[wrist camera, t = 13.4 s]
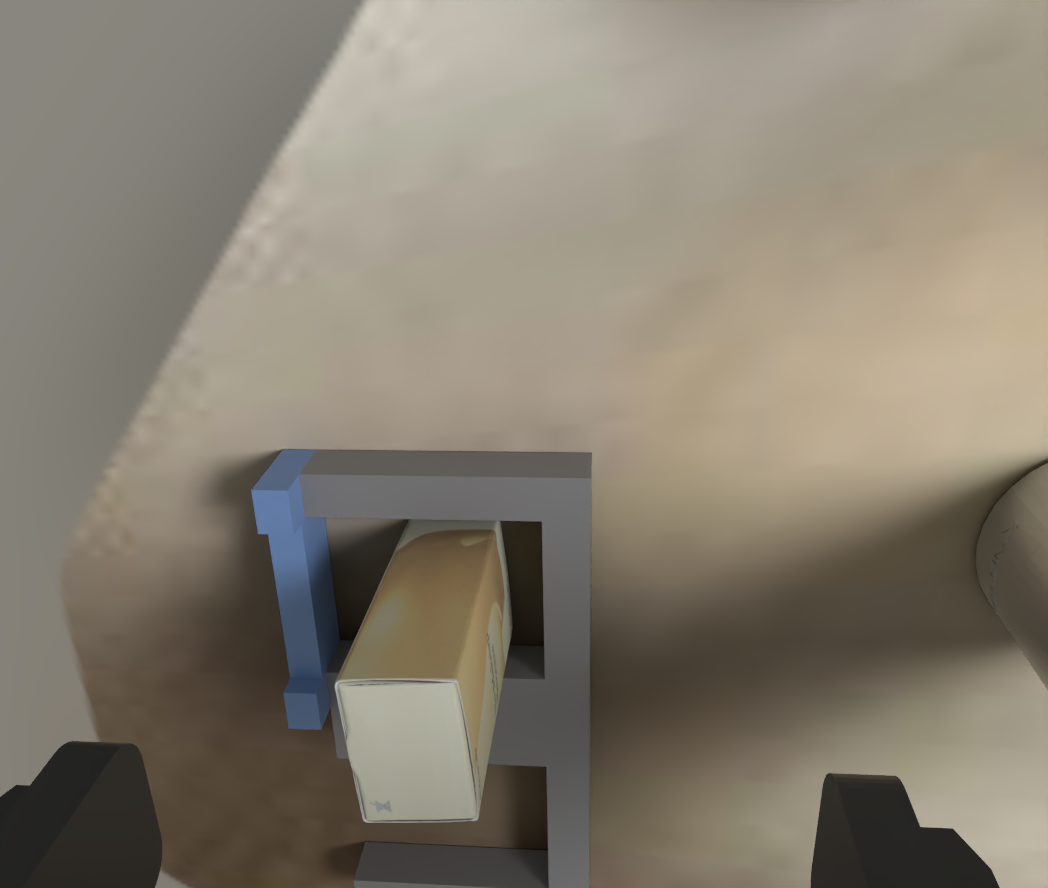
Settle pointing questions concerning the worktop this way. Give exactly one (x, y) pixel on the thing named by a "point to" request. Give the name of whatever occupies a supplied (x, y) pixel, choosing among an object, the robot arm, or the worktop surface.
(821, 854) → the robot arm
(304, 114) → the worktop surface
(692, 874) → the worktop surface
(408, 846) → the rail
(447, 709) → the skincare box
